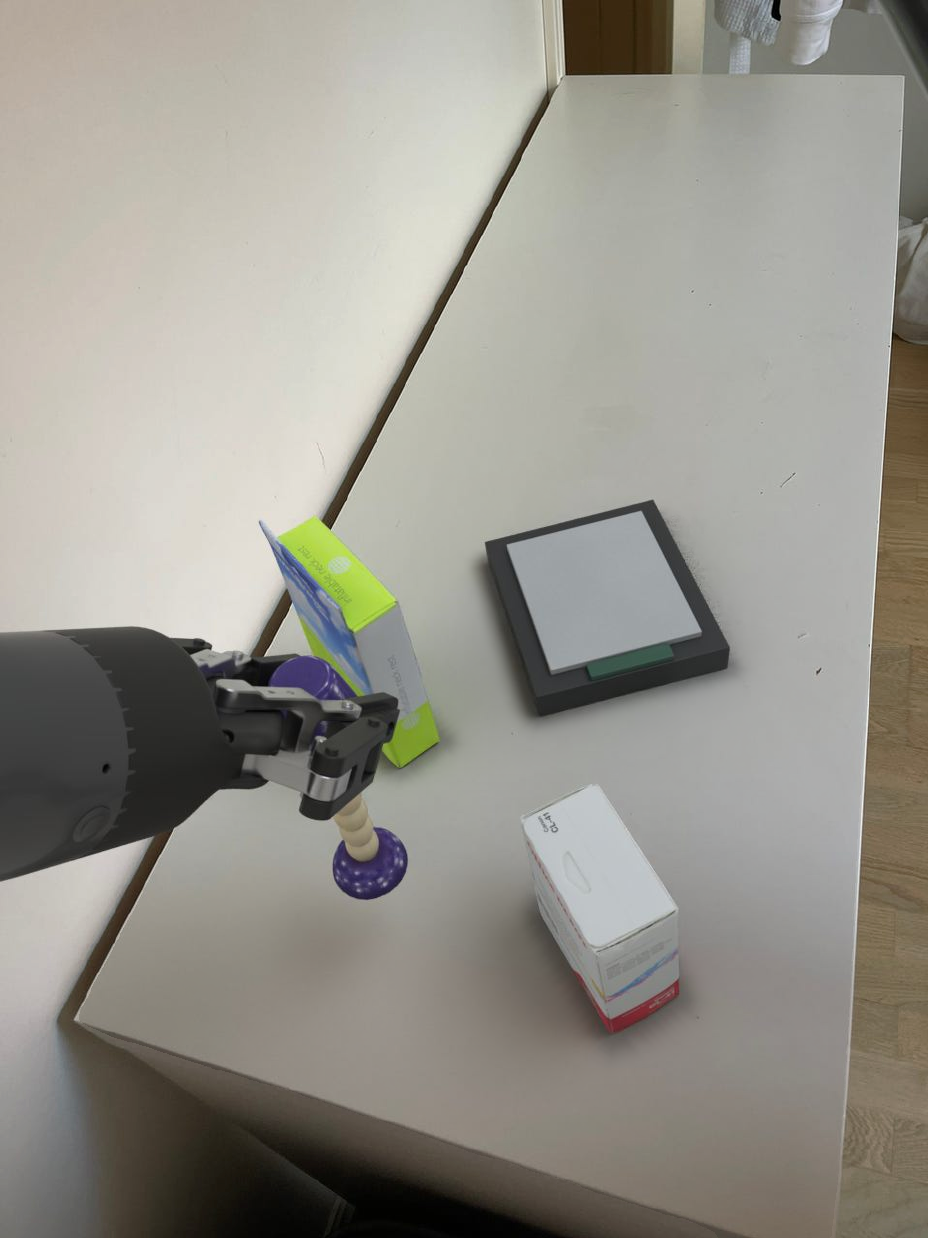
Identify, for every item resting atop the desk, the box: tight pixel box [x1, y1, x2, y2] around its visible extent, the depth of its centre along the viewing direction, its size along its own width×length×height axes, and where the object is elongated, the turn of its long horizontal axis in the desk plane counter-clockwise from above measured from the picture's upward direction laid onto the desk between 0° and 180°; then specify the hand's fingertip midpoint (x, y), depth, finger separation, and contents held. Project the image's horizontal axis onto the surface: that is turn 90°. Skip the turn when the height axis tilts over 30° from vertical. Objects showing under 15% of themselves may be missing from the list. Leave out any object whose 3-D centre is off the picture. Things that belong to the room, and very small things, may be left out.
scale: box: [484, 499, 731, 717], centre depth 75 cm, size 16×14×3 cm
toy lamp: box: [268, 655, 409, 901], centre depth 49 cm, size 5×5×17 cm
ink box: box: [519, 782, 680, 1034], centre depth 54 cm, size 9×5×12 cm, turn 25°
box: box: [258, 515, 440, 769], centre depth 66 cm, size 10×4×17 cm, turn 36°
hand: (341, 695), depth 47 cm, fingers closed on toy lamp, 4 cm apart
